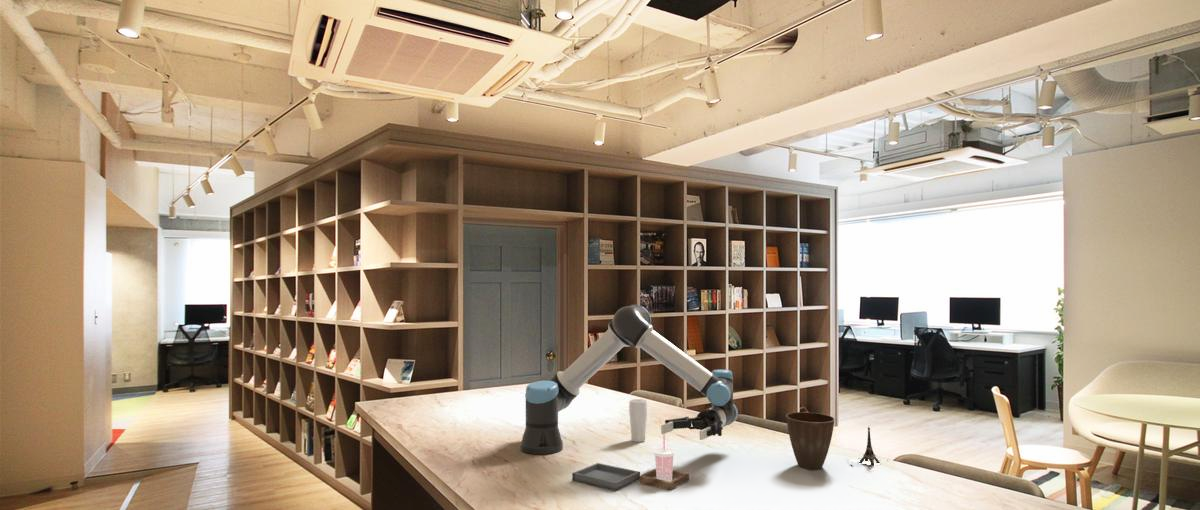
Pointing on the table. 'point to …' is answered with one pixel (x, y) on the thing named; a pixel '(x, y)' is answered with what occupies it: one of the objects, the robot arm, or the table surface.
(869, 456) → the eiffel tower figurine
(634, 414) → the white tumbler
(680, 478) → the holder
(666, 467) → the beverage cup
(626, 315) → the robot arm
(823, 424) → the plant pot
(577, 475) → the tray
